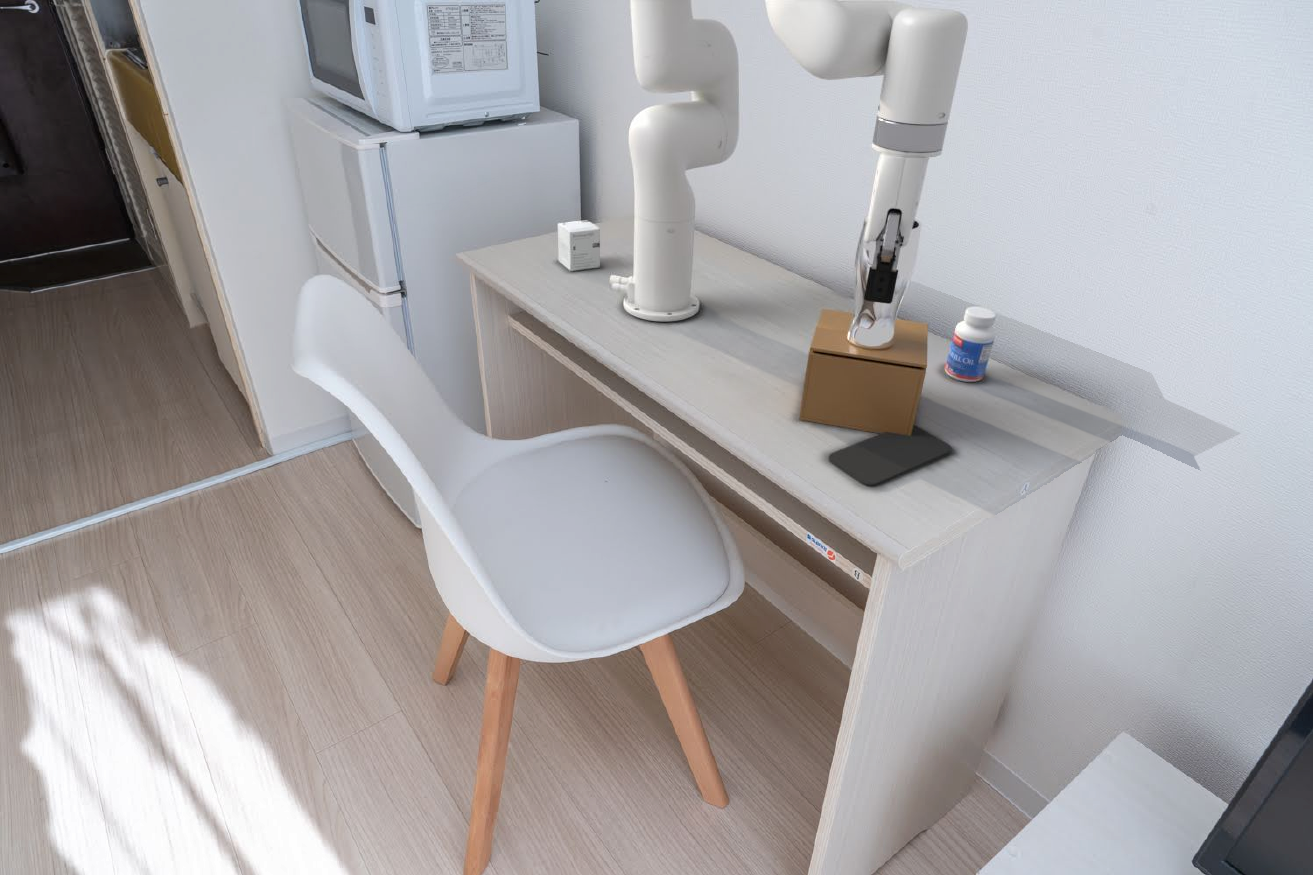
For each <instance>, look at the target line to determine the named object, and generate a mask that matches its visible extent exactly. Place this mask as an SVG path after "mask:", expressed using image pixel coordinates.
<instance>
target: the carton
mask: <svg viewBox="0 0 1313 875" xmlns="http://www.w3.org/2000/svg"><path fill="white" fill-rule="evenodd" d="M806 362H807V363H806V368H805V377H804V383H803V390H802V396H801V402H800V403H801V404H800V409H799V417H798V420H799V421H806V422H810V423H816V424H822V425H827V426H833V427H834V426H835V427H840V428H845V429H852V430H857V431H864V432H867V433H875V434H882V433H884V432H891V433H897V434H903V435H909V436H911V433H912V429H913V425H915V420H916V416H917V412H918V408H919V403H920V399H921V395H922V392H923V391H922V390H923V387H924V383H925V379H926V374H927V367H928V342H927V343H920V342H913V341H906V340H899V339H895V343H894V345H893V346H891V347H890V348H887V349H881V350H873V349H866V348H861V347H858V346H856V345H854V344H852V343H850V342H849V341H848V340H847V339H846V332H844V331H838V330H831V329H824V328H817V326H816V327H815V329H814V333H813V337H812V340H811V343H810V346H809V351H808V355H807V361H806Z"/></svg>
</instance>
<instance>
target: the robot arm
mask: <svg viewBox="0 0 1313 875" xmlns="http://www.w3.org/2000/svg"><path fill="white" fill-rule="evenodd" d="M764 3H765V9H766V13H767V19H768V21H769V23H770V27H771V28H772V30H773V32H774V34H775V36H776V37H777V38H778V40H779V41H780V43H781V44H782V45H783V46H784V47H785V49H786V50H787V51H788V53H789V54H790V55H791V57H793V59H794V60H795V61H796V62H797V63H798V64H799V66H800V67H802V68H803V69H804V70H805V71H806V72H808V73H809V74H811V75H812V76H814V77H815V78H819V79H822V80H825V81H826V80H827V81H833V80H834V81H835V80H843V79H845V80H846V79H853V78H855V79H856V78H869V77H877V76H878V77H881V76H883V78H882V85H881V88H880V89H881V90H880V96H879V102H878V108H877V114H876V120H875V126H874V131H873V138H872V142H871V148H872V150H874V151H876V152H877V153H879V158H878V160H877V164H876V169H875V174H874V179H873V186H872V191H871V197H870V202H869V208H868V213H867V216H868V219H867V225H866V231H865V237H864V240H865V242H866V243H869V241H873V242H875V240H876V239H877V242H876V248H875V253H874V259H873V264H872V267H871V266H870V269H869V274H868V280H867V285H866V291H865V296H864V299H865V300H866V301H872V302H879V303H887V304H890V303H891V302H892V300H893V295H894V290H895V285H896V280H897V275H898V270H897V264H898V259H899V254H900V249H901V244H902V247H904V246H906V245H907V243H908V240H909V237H910V234H911V230H912V227H913V224H914V220H915V219H916V216H917V212H918V209H919V205H920V202H921V196H922V192H923V187H924V183H925V180H926V175H927V168H928V165H929V160H930V158H934V157H935V158H936V157H938V156H941V155H942V152H943V148H944V144H945V140H946V134H947V130H948V124H949V120H950V116H951V111H952V106H953V102H954V97H955V92H956V87H957V83H958V78H959V73H960V70H961V69H960V68H961V64H962V59H963V54H964V50H965V45H966V40H967V37H968V36H967V35H968V29H969V23H968V18H967V16H966V15H965V14H964V13H962V12H961V11H958V10H954V9H949V8H939V7H938V8H937V7H915V6H912V5H909V4H906V3H903V2H899V1H895V0H764ZM629 8H630V22H631V34H632V35H631V36H632V52H633V63H634V65H633V66H634V72H635V76H636V79H637V82H638V84H639V86H640V87H641V88H642V89H643V90H645V91H646V92H648V93H652V94H659V95H661V94H677V93H688V92H691V101H678V102H667V103H660V104H655V105H652V106H649V107H646V108H644V109H642V110H641V111H639V113H638V114H636V115H635V117H634V118H633V119H632V120H631V123H630V126H629V129H628V148H629V154H630V160H631V166H632V175H633V187H634V190H633V192H634V193H633V194H634V199H633V200H634V206H633V207H634V208H633V209H634V210H633V214H634V217H633V218H634V221H633V223H634V224H633V271H632V272H633V274H632V275H630V276H629V277H624V276H621V275H614V274H611V275H610V278H609V287H610V288H611V291H612V292H616V293H624V294H625V296H624V297H623V308H624V310H625V311H626V312H627V313H628V314H630V315H631V316H633V317H635V318H638V319H640V320H641V319H642V320H646V321H651V322H677V321H683V320H686V319H689V318H691V317H693V316H695V314H697V313H698V312H699V310H700V300H699V298H698V297H697V296H696V295H695V294H694V293H692V280H693V279H692V278H693V260H694V243H695V226H696V225H695V224H696V197H695V193H694V190H693V187H692V185H691V184H690V182H689V180H688V178H687V174H686V171H690V170H692V169H698V168H703V167H704V168H705V167H709V166H716V165H719V164H722V163H725V162H726V161H727V160H728V159H730V158H731V157H732V156H733V154H734V153H735V150H736V148H737V145H738V141H739V135H740V70H739V67H740V66H739V55H738V54H739V53H738V48H737V45H736V41H735V39H734V36H733V34H732V33H731V31H730V30H729V28H728V27H727V26H726V25H725V24H723V23H722V22H721V21H719V20H716V19H713V18H694V16H693V10H692V9H693V8H692V0H630V1H629ZM888 213H889V216H888ZM887 216H888V221H887ZM899 218H900V220H899ZM881 233H882V235H885V238H884V241H880V238H881ZM899 234H900V236H899ZM896 236H897V237H899V241H898V243H895V240H896ZM903 237H904V238H903ZM902 238H903V240H902ZM880 248H882V251H880ZM894 249H895V253H894V252H893V251H894ZM879 251H880V252H879ZM877 262H878V263H877Z"/></svg>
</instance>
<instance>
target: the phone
mask: <svg viewBox="0 0 1313 875" xmlns="http://www.w3.org/2000/svg"><path fill="white" fill-rule="evenodd" d="M952 450H953V448H952V446H951V445H950V444H949V443H947V442H946V441H944V440H942V439H940V438H938V437H937V436H935V435H933V434H931V432H928V431H927V430H925V429H923V428H921V427H919V426H918V425H915V424H914V425H913V429H912V433H911V436H909V435H903V434H897V433H891V432H884V433H882V434H880V433H878V434H876V435H874V436H872V437H869V438H867V439H864V440H862V441H859V442H856V443H854V444H851V445H848V446H846V447H844V448H842V449H839V450H836V451H834V452H832V453H829V455H828V462H829V463H830V464H831V465H833V466H835V467H836V468H837V469H838V470H841V471H842V472H843V473H845V474H846V475H847V476H849V477H850V478H852V479H854V480H855V481H856V482H858V483H860V484H861V485H863V486H864V487H869V488H873V487H877V486H880V485H882V484H884V483H886V482H889V481H891V480H894V479H897V478H899V477H902V476H903V475H906V474H908V473H910V472H913V471H915V470H918V469H920V468H922V467H924V466H927V465H929V464H932V463H933V462H937V461H938V460H941V459H942V458H945V457H947V456H950V455H951V453H952Z"/></svg>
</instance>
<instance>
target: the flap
mask: <svg viewBox="0 0 1313 875" xmlns="http://www.w3.org/2000/svg"><path fill="white" fill-rule="evenodd" d="M852 314H853V312H848V311H843V310H842V311H841V310H834V309H827V308H821V311H820V314H819V317H818V321H817V323H816V327H817V328H824V329H831V330H838V331H844V332H846V331H847V328H848V326H849V323H850V321H851V318H852ZM928 332H929V323H927V322H920V321H912V320H906V319H898V318H896V326H895V339H899V340H906V341H913V342H920V343H927V344H928V340H929V339H928V337H929V333H928Z"/></svg>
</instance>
